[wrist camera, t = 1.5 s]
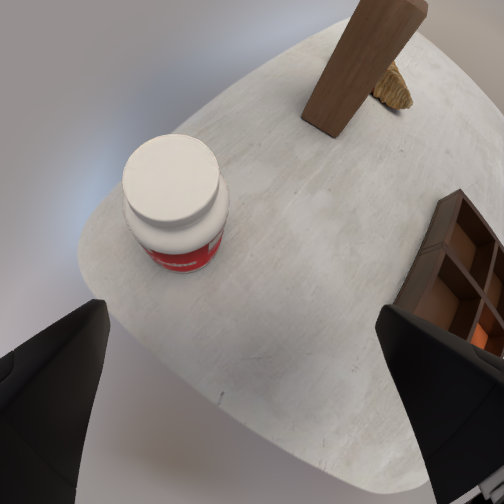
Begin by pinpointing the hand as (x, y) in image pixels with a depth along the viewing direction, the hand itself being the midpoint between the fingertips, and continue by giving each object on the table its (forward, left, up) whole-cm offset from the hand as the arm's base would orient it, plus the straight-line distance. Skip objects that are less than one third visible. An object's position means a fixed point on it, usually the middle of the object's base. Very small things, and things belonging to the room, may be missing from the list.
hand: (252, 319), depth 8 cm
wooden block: (+21, +14, -15) cm, 30 cm away
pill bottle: (0, +7, -15) cm, 16 cm away
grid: (+23, -13, -14) cm, 30 cm away
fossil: (+32, +17, -15) cm, 39 cm away
